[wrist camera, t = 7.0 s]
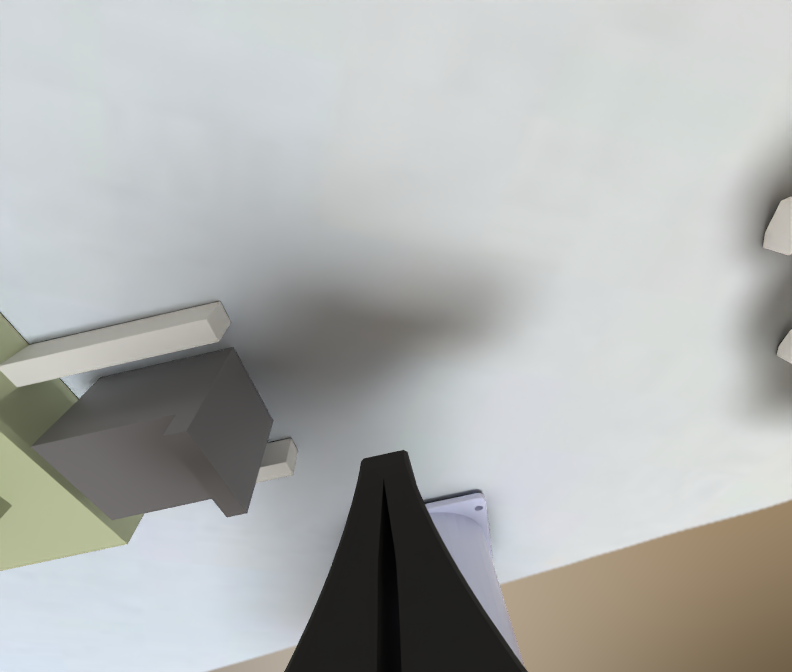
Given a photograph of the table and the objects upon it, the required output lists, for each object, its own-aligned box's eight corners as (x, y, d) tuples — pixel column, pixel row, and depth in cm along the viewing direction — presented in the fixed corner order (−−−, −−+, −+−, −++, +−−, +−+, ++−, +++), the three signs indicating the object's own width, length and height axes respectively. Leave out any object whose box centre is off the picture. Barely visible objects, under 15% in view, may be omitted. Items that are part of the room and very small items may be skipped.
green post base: (301, 457, 19) (280, 580, 14) (9, 519, 19) (-115, 661, 14) (158, 181, 12) (2, 226, 7) (-304, 291, 12) (-786, 414, 7)
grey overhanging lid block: (273, 419, 18) (247, 512, 13) (159, 444, 18) (96, 545, 14) (234, 345, 15) (186, 430, 11) (102, 375, 16) (5, 470, 11)
